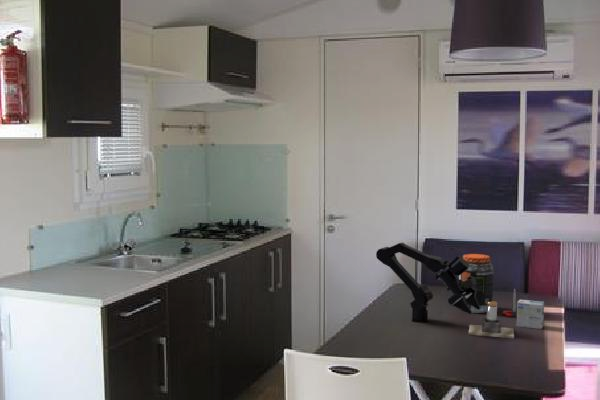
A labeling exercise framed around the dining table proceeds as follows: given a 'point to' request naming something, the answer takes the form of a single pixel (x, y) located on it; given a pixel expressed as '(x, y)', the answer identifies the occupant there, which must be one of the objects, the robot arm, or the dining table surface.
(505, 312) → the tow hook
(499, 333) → the block
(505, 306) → the dining table surface
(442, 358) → the dining table surface
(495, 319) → the pin
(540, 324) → the light bulb box
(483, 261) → the supplement tub
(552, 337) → the dining table surface
